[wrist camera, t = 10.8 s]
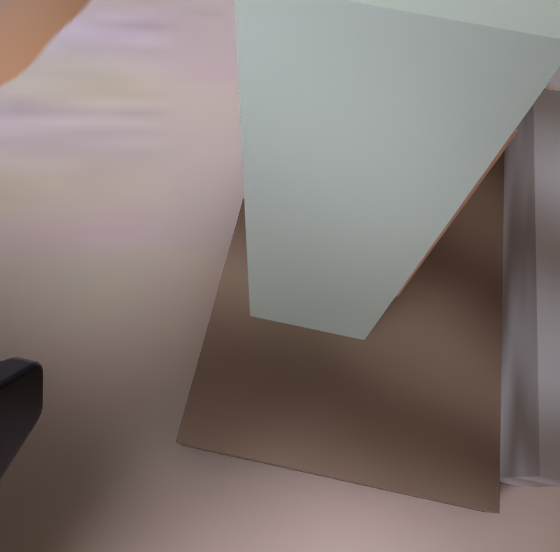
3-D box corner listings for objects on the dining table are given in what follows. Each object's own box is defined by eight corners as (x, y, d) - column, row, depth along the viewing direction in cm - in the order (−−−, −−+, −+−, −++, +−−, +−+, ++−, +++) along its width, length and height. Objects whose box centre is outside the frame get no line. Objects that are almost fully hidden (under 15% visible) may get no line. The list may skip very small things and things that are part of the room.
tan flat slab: (525, 521, 15) (595, 530, 12) (181, 445, 16) (162, 434, 13) (523, 134, 22) (568, 74, 19) (278, 89, 22) (281, 22, 19)
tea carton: (372, 341, 16) (604, 46, 5) (250, 315, 17) (233, -20, 6) (395, 175, 19) (576, -240, 8) (289, 155, 19) (330, -278, 8)
